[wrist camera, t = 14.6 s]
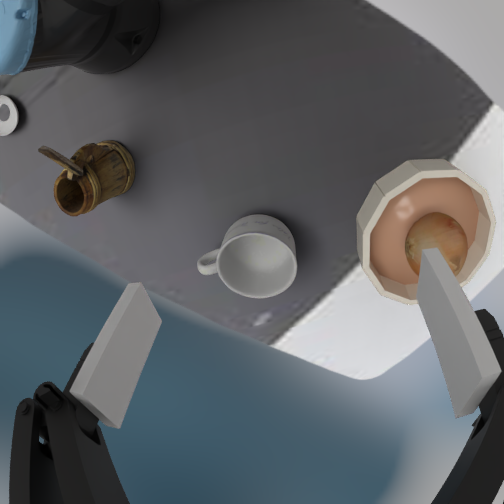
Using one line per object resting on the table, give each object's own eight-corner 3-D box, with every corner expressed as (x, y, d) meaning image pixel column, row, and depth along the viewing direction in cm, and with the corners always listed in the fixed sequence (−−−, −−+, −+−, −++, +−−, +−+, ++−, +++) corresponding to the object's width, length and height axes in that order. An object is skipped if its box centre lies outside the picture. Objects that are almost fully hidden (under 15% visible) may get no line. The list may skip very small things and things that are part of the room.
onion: (395, 205, 40) (418, 241, 32) (453, 198, 38) (485, 230, 30) (395, 261, 45) (413, 303, 37) (449, 252, 43) (474, 291, 34)
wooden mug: (154, 128, 40) (79, 167, 24) (125, 203, 47) (61, 267, 31) (106, 105, 38) (20, 134, 23) (83, 179, 45) (12, 232, 30)
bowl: (353, 163, 39) (360, 174, 35) (485, 158, 35) (502, 169, 30) (356, 290, 50) (360, 310, 46) (467, 276, 46) (478, 294, 42)
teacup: (299, 208, 44) (300, 236, 37) (294, 270, 50) (293, 303, 43) (204, 203, 45) (188, 229, 38) (209, 264, 51) (196, 295, 44)
